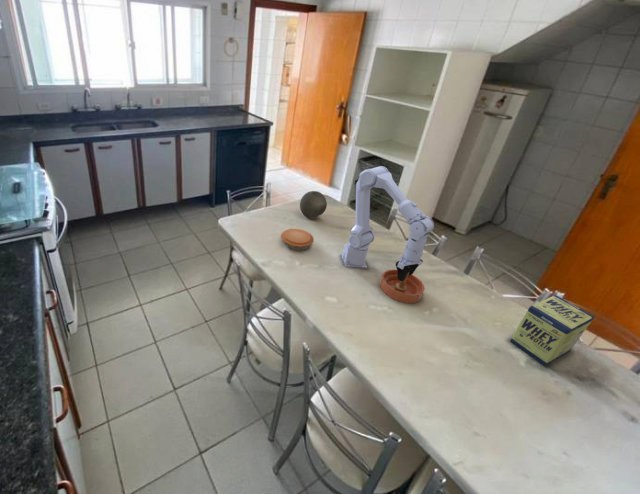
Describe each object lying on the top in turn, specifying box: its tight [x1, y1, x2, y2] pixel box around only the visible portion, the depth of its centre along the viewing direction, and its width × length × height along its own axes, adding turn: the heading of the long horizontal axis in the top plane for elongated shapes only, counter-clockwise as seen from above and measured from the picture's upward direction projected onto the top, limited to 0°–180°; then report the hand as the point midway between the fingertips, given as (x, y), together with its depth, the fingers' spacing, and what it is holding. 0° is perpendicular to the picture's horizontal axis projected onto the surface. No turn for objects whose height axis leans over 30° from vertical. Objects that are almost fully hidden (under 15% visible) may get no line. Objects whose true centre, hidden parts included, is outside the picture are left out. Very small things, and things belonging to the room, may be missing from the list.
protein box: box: [509, 294, 596, 367], centre depth 105 cm, size 10×16×16 cm
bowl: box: [379, 269, 426, 304], centre depth 129 cm, size 15×15×4 cm
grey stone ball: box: [299, 190, 328, 219], centre depth 178 cm, size 14×14×15 cm
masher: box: [395, 273, 409, 293], centre depth 127 cm, size 4×4×10 cm
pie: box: [280, 228, 314, 251], centre depth 155 cm, size 15×16×5 cm
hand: (404, 276), depth 127 cm, fingers open, 6 cm apart
